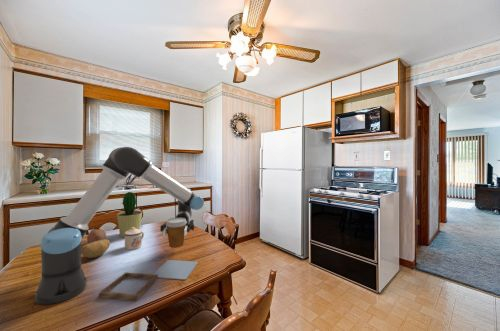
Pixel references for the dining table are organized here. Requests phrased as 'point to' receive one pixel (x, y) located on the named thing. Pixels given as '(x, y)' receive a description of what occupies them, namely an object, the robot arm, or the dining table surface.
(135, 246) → the teacup with lid
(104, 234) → the onion
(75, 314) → the dining table surface
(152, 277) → the walnut collar
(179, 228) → the disposable coffee cup
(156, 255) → the dining table surface
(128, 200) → the potted cactus
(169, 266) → the slate mat
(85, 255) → the potato
